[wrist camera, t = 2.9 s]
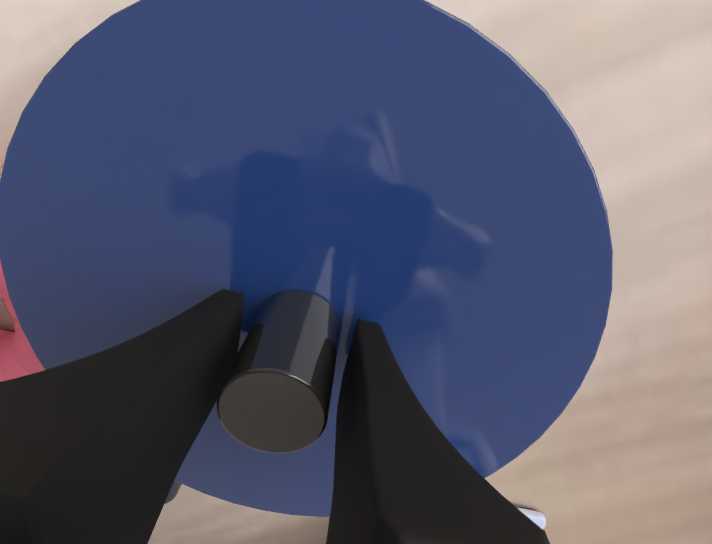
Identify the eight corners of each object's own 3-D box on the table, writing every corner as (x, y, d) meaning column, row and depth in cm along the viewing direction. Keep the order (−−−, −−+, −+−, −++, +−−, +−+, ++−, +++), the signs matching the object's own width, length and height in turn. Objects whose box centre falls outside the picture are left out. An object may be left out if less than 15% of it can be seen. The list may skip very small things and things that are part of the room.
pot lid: (725, 80, 10) (962, 94, 6) (475, 526, 17) (503, 667, 13) (-19, -114, 9) (-341, -251, 5) (54, 441, 17) (-53, 565, 12)
